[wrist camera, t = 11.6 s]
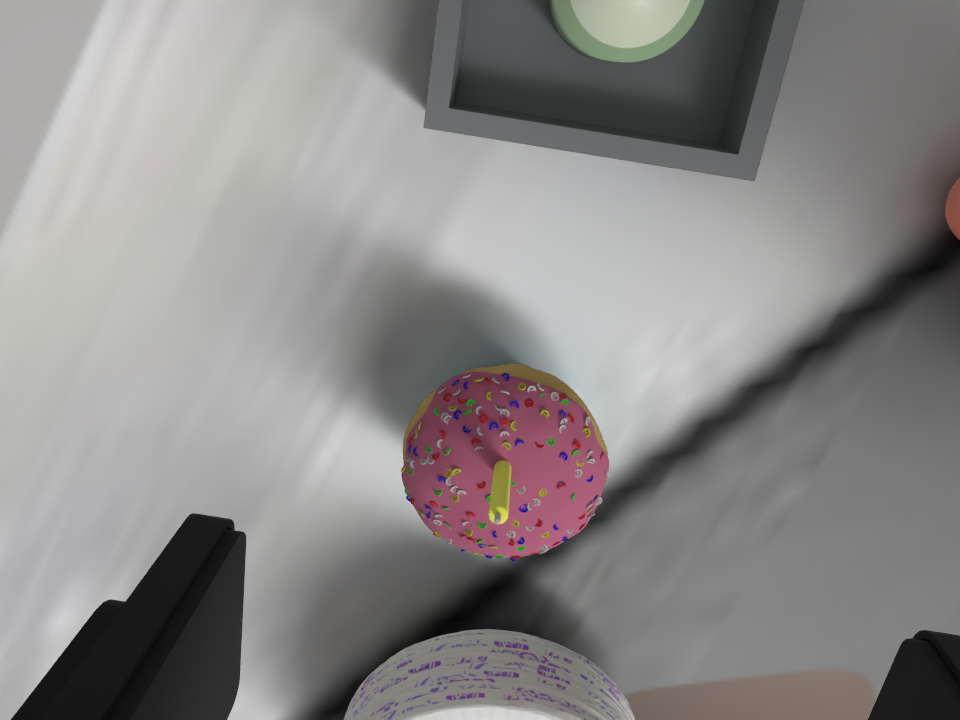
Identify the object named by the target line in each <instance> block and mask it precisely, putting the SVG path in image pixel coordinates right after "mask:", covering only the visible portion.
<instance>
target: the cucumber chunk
mask: <svg viewBox="0 0 960 720" xmlns="http://www.w3.org/2000/svg"><path fill="white" fill-rule="evenodd" d="M703 3H704V0H549V8H550V14H551V18H552V21H553V24H554V26H555V28H556V30H557V32H558V34H559V35H560V37H561V38H562V39H563V41H564V42H565V43H566V44H567V45H568V46H569V47H571V48H572V49H573V50H575V51H576V52H578V53H580V54H581V55H584V56H586V57H589V58H593V59H598V60H606V61H614V62H637V61H643V60H646V59H649V58H653V57H655V56H657V55H659V54H661V53H663V52H665V51H666V50H668V49H669V48H671V47H672V46H673V45H675V44H676V43H677V42H678V41H679V40H680V39H681V38H682V37H683V36H684V35H685V34H686V33H687V32H688V30H689V29H690V28H691V26H692V25H693V24H694V22H695V20H696V19H697V17H698V15H699V13H700V11H701V8H702V6H703Z"/></svg>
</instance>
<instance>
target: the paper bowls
mask: <svg viewBox="0 0 960 720" xmlns="http://www.w3.org/2000/svg"><path fill="white" fill-rule="evenodd" d="M344 720H635V718H634V716H633V713H632V711H631V708H630V706H629V704H628V702H627V699H626V698H625V697H624V696H623V694H622V692H621V690H620V689H619V688H618V687H617V686H616V684H615V682H614V681H613V680H611V679H610V678H609V677H608V675H607V674H606V673H605V672H604V671H603V670H601V669H600V668H599V667H598V666H596V665H595V664H594V663H593V662H591V661H590V660H589V659H587V658H586V657H585V656H583V655H580V654H578V653H576V652H574V651H572V650H570V649H568V648H566V647H564V646H562V645H560V644H557V643H555V642H552V641H549V640H545V639H542V638H539V637H537V636H534V635H529V634H524V633H522V632H514V631H506V630H495V629H479V630H466V631H461V632H457V633H451V634H445V635H441V636H437V637H434V638H431V639H428V640H425V641H422V642H419V643H416V644H413V645H411V646H409V647H407V648H405V649H403V650H401V651H400V652H398V653H397V654H395V655H394V656H392V657H390V658H389V659H388V660H387V661H386V662H385V663H383V664H381V665H380V666H379V667H378V668H377V669H376V670H374V671H373V672H372V673H371V674H370V675H369V676H368V677H367V678H366V679H365V680H364V681H363V683H362V684H361V685H360V687H359V688H358V690H357V691H356V693H355V695H354V696H353V698H352V700H351V702H350V704H349V707H348V709H347V712H346V714H345V717H344Z"/></svg>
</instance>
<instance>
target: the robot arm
mask: <svg viewBox="0 0 960 720" xmlns="http://www.w3.org/2000/svg"><path fill="white" fill-rule="evenodd" d="M245 553H246V535H245V533H244V532H240V531H234V523H233V521H232V520H231V519H226V518H220V517H213V516H207V515H201V514H194V513H193V514H190V515H189V516H188V517H187V518H186V520H185V521H184V522H183V524H182V525H181V527H180V528H179V529H178V531H177V532H176V533H175V535H174V536H173V538H172V539H171V540H170V542H169V543H168V544H167V546H166V547H165V549H164V550H163V551H162V553H161V554H160V555H159V557H158V558H157V559H156V561H155V562H154V564H153V565H152V566H151V568H150V569H149V570H148V572H147V573H146V575H145V576H144V577H143V579H142V580H141V581H140V583H139V584H138V586H137V587H136V588H135V590H134V591H133V592H132V594H131V595H130V596H129V598H128V599H127V601H126V602H123V601H117V600H108V601H105V602H103V603H102V604H101V605H100V606H99V607H98V608H97V609H96V610H95V612H94V613H93V614H92V616H91V617H90V618H89V619H88V621H87V622H86V623H85V625H84V626H83V627H82V628H81V630H80V631H79V632H78V634H77V635H76V636H75V638H74V639H73V640H72V641H71V643H70V644H69V645H68V647H67V648H66V649H65V650H64V652H63V653H62V654H61V656H60V657H59V658H58V660H57V661H56V662H55V663H54V665H53V666H52V667H51V669H50V670H49V671H48V672H47V674H46V675H45V676H44V678H43V679H42V680H41V682H40V683H39V684H38V685H37V687H36V688H35V689H34V691H33V692H32V693H31V695H30V696H29V697H28V698H27V700H26V701H25V702H24V704H23V705H22V706H21V707H20V709H19V710H18V711H17V713H16V714H15V715H14V717H13V718H12V719H11V720H227V718H228V716H229V714H230V712H231V709H232V707H233V704H234V702H235V698H236V695H237V691H238V686H239V679H240V660H241V639H242V618H243V596H244V575H245ZM868 720H960V636H958V635H952V634H946V633H940V632H933V631H927V630H923V631H919V632H918V633H917V634H915V636H914V637H913V639H906V640H905V641H903V642H902V644H901V646H900V648H899V650H898V652H897V655H896V657H895V659H894V661H893V664H892V666H891V668H890V671H889V673H888V675H887V677H886V680H885V682H884V684H883V686H882V689H881V691H880V693H879V696H878V698H877V700H876V702H875V705H874V707H873V709H872V712H871V714H870V716H869V719H868Z"/></svg>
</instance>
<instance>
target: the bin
mask: <svg viewBox="0 0 960 720" xmlns="http://www.w3.org/2000/svg"><path fill="white" fill-rule="evenodd" d="M803 3H804V0H704V3H703V6H702V8H701V11H700V13H699V15H698V17H697V19H696V20H695V22H694V24H693V25H692V26H691V28H690V29H689V30H688V32H687V33H686V34H685V35H684V36H683V37H682V38H681V39H680V40H679V41H678V42H677V43H676V44H675V45H673V46H672V47H671V48H669V49H668V50H666V51H665V52H663V53H661V54H659V55H657V56H655V57H653V58H649V59H646V60H643V61H637V62H614V61H606V60H598V59H593V58H589V57H586V56H584V55H581V54H580V53H578V52H576V51H575V50H573V49H572V48H571V47H569V46H568V45H567V44H566V43H565V42H564V41H563V39H562V38H561V37H560V35H559V34H558V32H557V30H556V28H555V26H554V24H553V21H552V18H551V14H550V8H549V0H439V2H438V11H437V19H436V27H435V36H434V44H433V53H432V61H431V70H430V78H429V86H428V95H427V103H426V112H425V120H424V128H428V129H434V130H440V131H447V132H453V133H459V134H465V135H471V136H478V137H484V138H490V139H496V140H502V141H509V142H515V143H521V144H527V145H534V146H540V147H546V148H552V149H558V150H565V151H571V152H577V153H583V154H590V155H596V156H602V157H608V158H614V159H621V160H627V161H633V162H639V163H645V164H652V165H658V166H664V167H670V168H677V169H683V170H689V171H695V172H701V173H708V174H714V175H720V176H726V177H732V178H739V179H745V180H751V181H755V177H756V173H757V170H758V166H759V163H760V159H761V155H762V152H763V148H764V144H765V141H766V137H767V134H768V130H769V126H770V123H771V119H772V115H773V112H774V108H775V105H776V101H777V97H778V94H779V90H780V86H781V83H782V79H783V75H784V72H785V68H786V65H787V61H788V57H789V54H790V50H791V46H792V43H793V39H794V36H795V32H796V28H797V25H798V21H799V17H800V14H801V10H802V7H803Z"/></svg>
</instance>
